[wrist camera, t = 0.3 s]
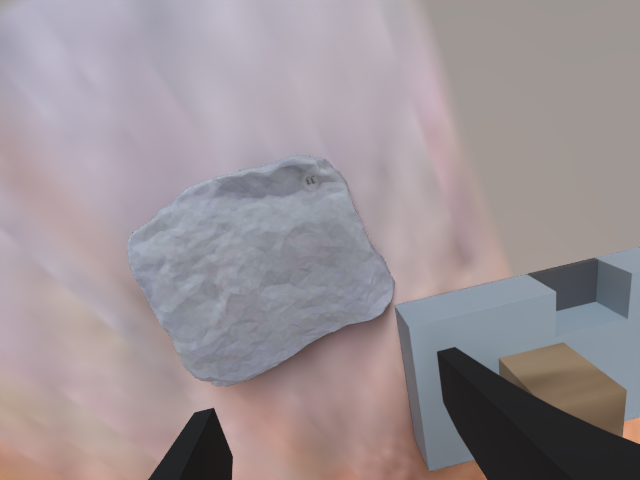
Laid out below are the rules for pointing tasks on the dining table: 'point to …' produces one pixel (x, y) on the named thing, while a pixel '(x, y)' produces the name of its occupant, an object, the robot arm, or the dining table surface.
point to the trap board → (521, 335)
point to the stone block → (258, 267)
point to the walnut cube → (568, 384)
